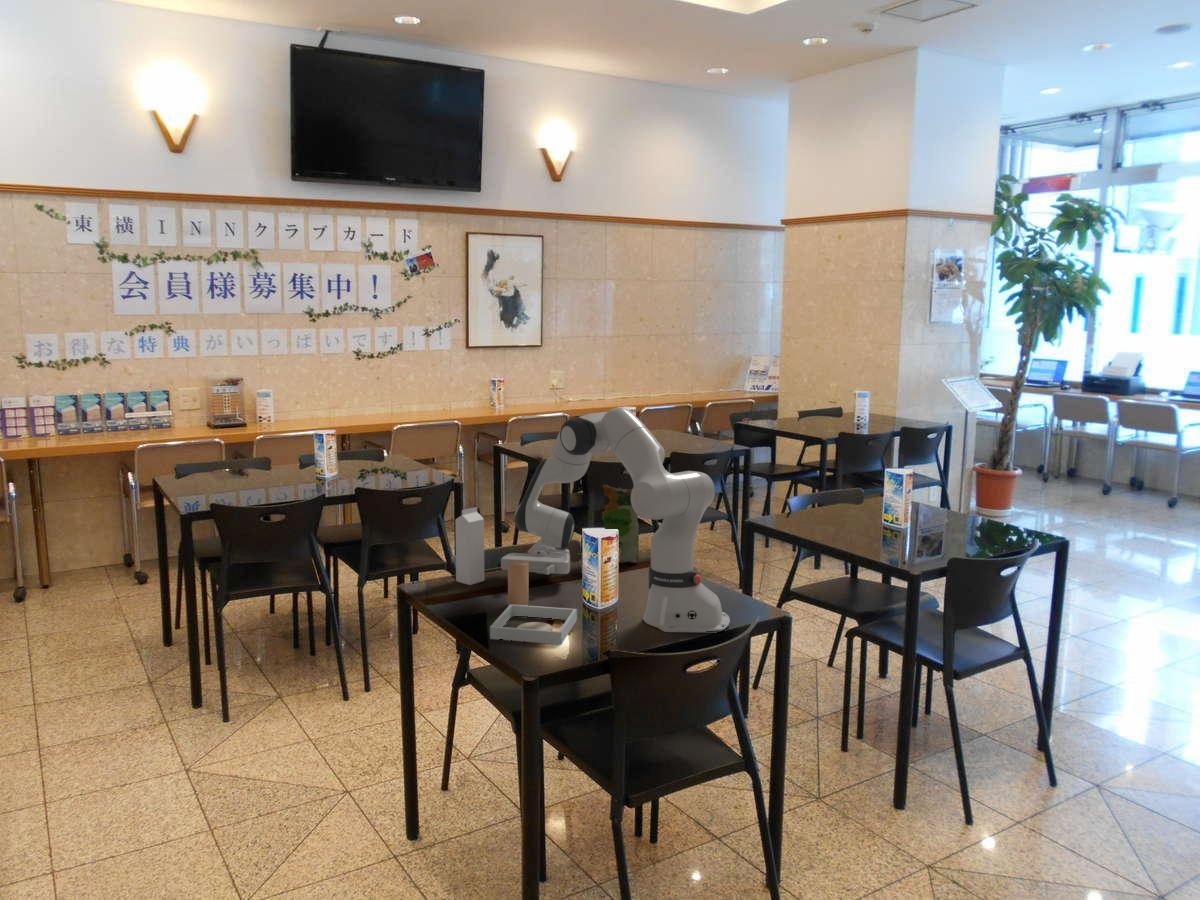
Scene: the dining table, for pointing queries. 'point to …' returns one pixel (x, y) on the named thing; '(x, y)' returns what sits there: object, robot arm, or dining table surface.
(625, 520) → the pouch
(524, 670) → the dining table surface
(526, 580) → the canister
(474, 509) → the milk
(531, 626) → the coaster
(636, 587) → the dining table surface
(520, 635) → the white square frame
